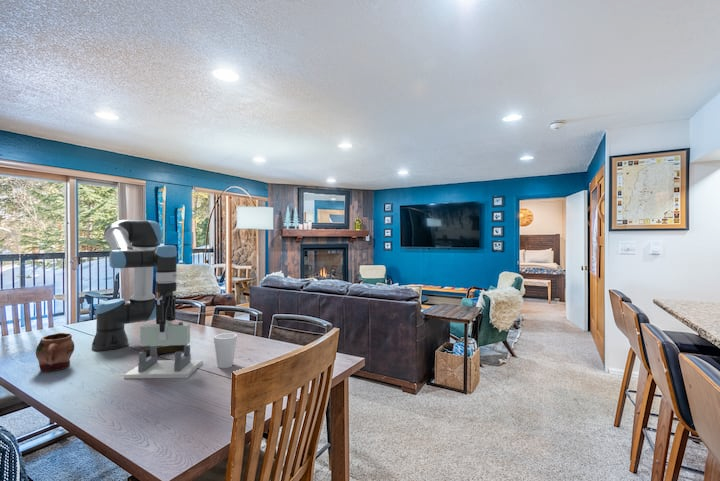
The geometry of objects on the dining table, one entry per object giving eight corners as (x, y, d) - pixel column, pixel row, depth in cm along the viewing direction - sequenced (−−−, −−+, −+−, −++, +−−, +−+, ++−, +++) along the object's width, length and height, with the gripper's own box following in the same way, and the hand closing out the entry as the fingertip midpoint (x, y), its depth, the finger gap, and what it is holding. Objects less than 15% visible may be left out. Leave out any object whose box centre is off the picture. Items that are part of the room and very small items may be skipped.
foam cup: (241, 363, 156) (241, 334, 156) (226, 370, 147) (227, 339, 147) (223, 360, 159) (224, 332, 159) (208, 367, 150) (209, 337, 150)
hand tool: (143, 359, 160) (144, 349, 160) (142, 356, 163) (142, 347, 163) (188, 351, 172) (188, 342, 172) (186, 349, 175) (186, 340, 175)
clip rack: (146, 363, 154) (146, 343, 154) (202, 363, 155) (202, 343, 155) (124, 378, 138) (124, 355, 138) (186, 377, 139) (187, 355, 139)
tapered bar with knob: (145, 343, 147) (145, 322, 147) (189, 342, 149) (190, 321, 149) (140, 346, 143) (140, 324, 143) (186, 345, 145) (186, 323, 145)
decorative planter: (72, 373, 142) (72, 339, 142) (31, 380, 135) (31, 344, 135) (75, 359, 158) (76, 328, 158) (39, 364, 151) (39, 332, 151)
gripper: (165, 284, 138) (165, 343, 138) (184, 279, 155) (184, 332, 155) (145, 284, 137) (145, 344, 137) (167, 279, 155) (166, 332, 155)
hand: (165, 337), depth 146 cm, fingers closed on tapered bar with knob, 4 cm apart
